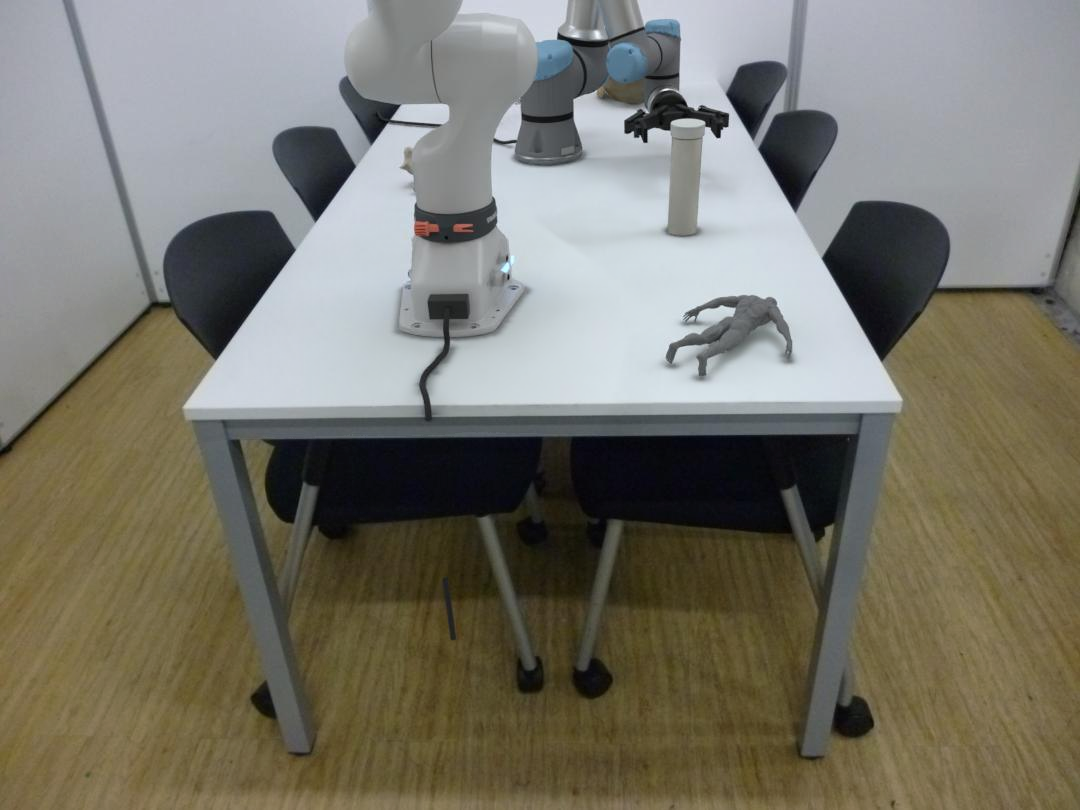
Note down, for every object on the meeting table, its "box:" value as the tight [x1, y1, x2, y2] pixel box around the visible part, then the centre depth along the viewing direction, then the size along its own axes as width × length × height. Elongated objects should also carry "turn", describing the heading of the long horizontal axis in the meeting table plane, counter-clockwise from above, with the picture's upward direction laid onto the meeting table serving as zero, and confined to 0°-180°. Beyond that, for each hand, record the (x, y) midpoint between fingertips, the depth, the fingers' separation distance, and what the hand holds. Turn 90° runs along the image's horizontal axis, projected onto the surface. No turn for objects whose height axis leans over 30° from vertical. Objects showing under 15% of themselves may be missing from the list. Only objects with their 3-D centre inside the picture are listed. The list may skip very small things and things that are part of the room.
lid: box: [669, 119, 706, 139], centre depth 137 cm, size 6×6×2 cm
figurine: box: [665, 294, 793, 377], centre depth 110 cm, size 17×4×20 cm
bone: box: [399, 146, 415, 193], centre depth 172 cm, size 10×6×10 cm
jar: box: [667, 136, 704, 237], centre depth 142 cm, size 5×5×18 cm
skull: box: [596, 43, 644, 105], centre depth 227 cm, size 16×22×25 cm
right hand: (682, 133), depth 155 cm, fingers open, 13 cm apart
